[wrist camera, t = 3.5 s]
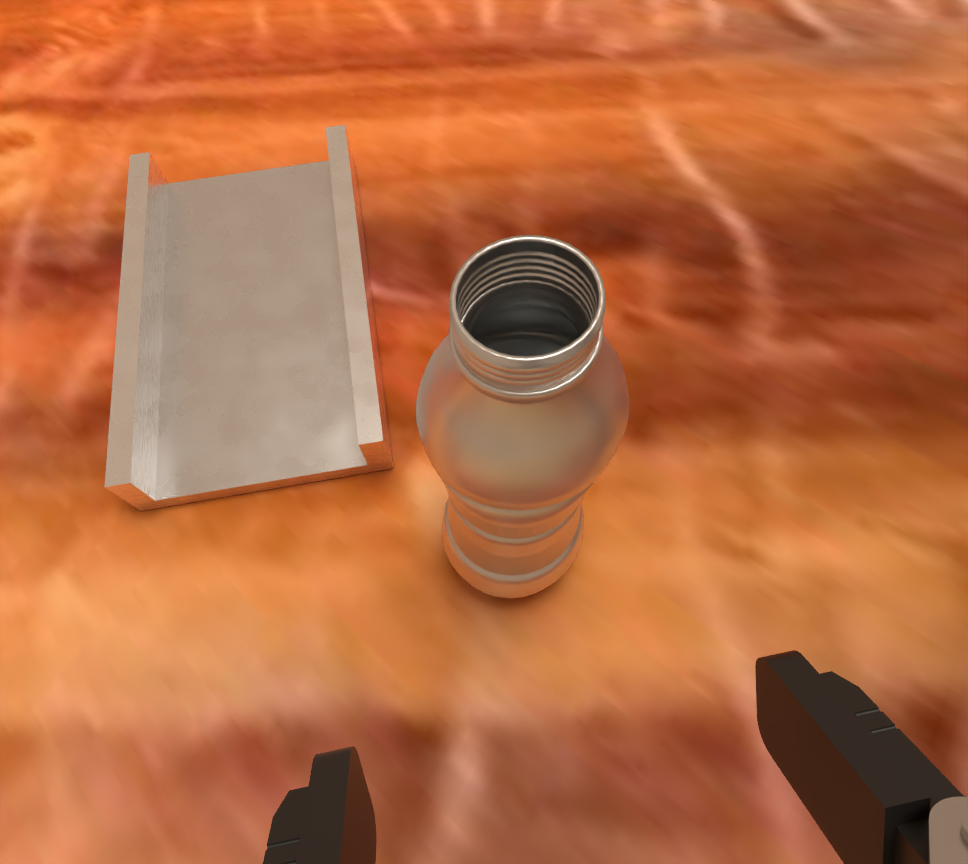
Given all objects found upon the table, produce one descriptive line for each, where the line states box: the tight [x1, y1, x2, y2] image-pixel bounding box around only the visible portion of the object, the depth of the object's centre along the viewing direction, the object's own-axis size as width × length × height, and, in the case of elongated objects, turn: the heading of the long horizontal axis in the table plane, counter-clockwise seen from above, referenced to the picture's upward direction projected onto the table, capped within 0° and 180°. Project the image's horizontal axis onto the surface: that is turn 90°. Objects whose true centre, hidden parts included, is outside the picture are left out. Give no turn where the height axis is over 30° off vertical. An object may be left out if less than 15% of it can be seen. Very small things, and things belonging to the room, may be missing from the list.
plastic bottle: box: [416, 235, 629, 598], centre depth 24 cm, size 6×7×20 cm
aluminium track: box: [105, 125, 394, 511], centre depth 38 cm, size 22×13×4 cm, turn 10°
